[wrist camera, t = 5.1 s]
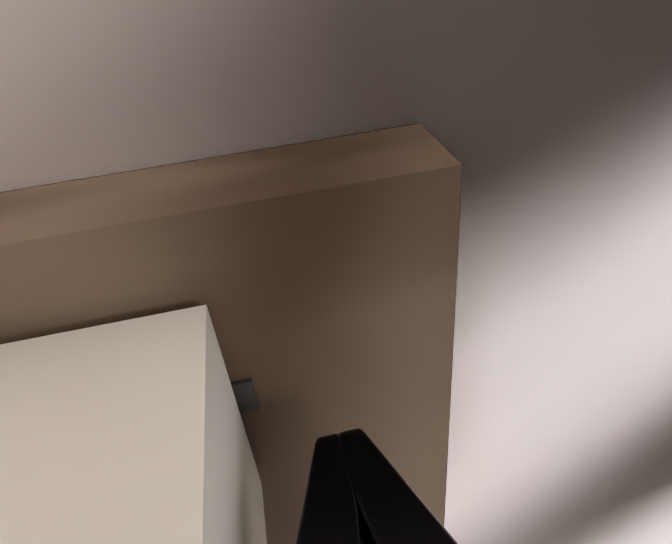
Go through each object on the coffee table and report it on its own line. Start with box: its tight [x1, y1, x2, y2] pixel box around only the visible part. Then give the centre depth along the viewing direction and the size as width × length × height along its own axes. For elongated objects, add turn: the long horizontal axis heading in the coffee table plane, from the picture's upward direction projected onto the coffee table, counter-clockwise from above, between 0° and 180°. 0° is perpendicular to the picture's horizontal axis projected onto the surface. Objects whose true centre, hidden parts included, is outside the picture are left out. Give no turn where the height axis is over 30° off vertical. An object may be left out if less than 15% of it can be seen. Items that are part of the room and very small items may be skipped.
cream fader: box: [0, 305, 267, 544], centre depth 8 cm, size 4×5×4 cm
